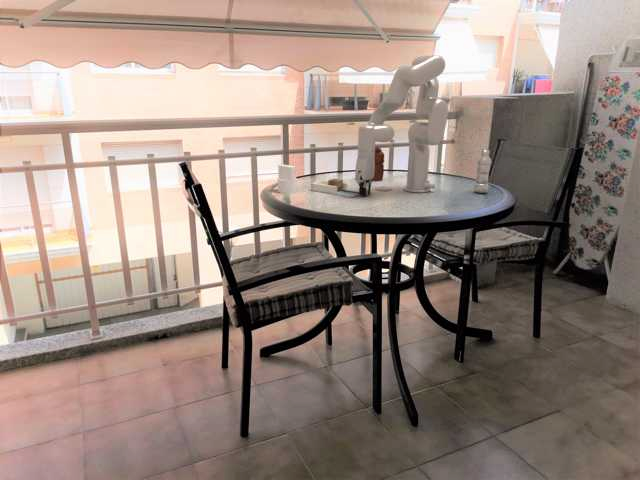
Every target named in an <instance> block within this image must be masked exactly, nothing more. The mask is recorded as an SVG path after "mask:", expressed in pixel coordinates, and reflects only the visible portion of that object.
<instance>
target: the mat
mask: <svg viewBox="0 0 640 480" xmlns="http://www.w3.org/2000/svg"><path fill="white" fill-rule="evenodd" d="M347 190H348V191H355V192H359V190H353V189H347ZM335 196H340V197H347V198H355V197H357V196H360V195H359V194H356V193H350V192H341V193H338V194H335Z"/></svg>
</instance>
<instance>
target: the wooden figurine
mask: <svg viewBox="0 0 640 480" xmlns="http://www.w3.org/2000/svg"><path fill="white" fill-rule="evenodd" d="M374 161H375V173H374V178H373V180H372V182H379V181H380V182H381V181H383V180H384V168H385V165H384V162H385V153H384V152H383V151H382V148H381V147H380V146H378V145H375V158H374ZM361 180H362V179H361Z"/></svg>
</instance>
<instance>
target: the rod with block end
mask: <svg viewBox="0 0 640 480" xmlns="http://www.w3.org/2000/svg"><path fill="white" fill-rule="evenodd" d="M327 181H328V185H331V186H337V192H339V191H343V192H350V193H356V194H359V192H355V191H356V190H354V191H348V190H349V189H347V190H343V183H344V180H343V179H340V178H331V179H328V180H327ZM365 187H366V196H365V197H368V196H369V195H368V189H369V183H368V182H366V185H365Z"/></svg>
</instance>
